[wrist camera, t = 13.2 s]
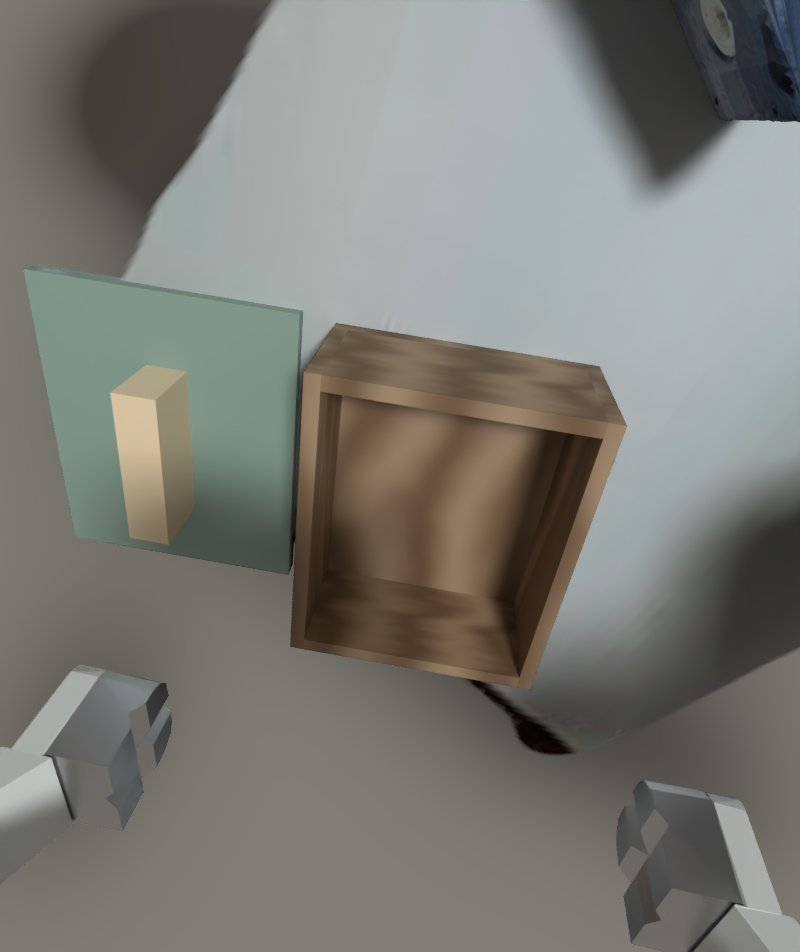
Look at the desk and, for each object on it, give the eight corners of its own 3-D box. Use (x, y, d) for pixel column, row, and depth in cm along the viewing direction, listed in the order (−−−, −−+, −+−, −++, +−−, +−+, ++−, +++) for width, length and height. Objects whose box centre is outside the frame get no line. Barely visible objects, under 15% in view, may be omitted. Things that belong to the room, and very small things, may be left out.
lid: (305, 308, 42) (278, 338, 36) (293, 563, 54) (271, 615, 48) (37, 264, 42) (-30, 287, 36) (84, 527, 54) (40, 574, 49)
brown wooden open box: (599, 366, 41) (627, 426, 33) (522, 604, 52) (529, 689, 45) (336, 323, 41) (303, 372, 33) (317, 568, 53) (290, 646, 45)
